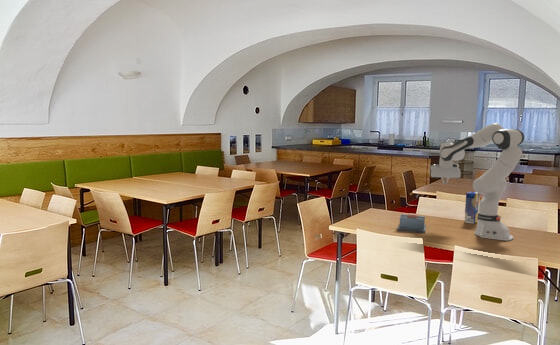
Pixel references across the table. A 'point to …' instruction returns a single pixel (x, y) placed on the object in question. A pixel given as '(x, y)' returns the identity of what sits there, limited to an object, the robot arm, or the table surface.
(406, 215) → the sliding jaw
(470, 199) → the beverage box
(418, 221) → the blue slanted stand
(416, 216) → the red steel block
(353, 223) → the table surface
